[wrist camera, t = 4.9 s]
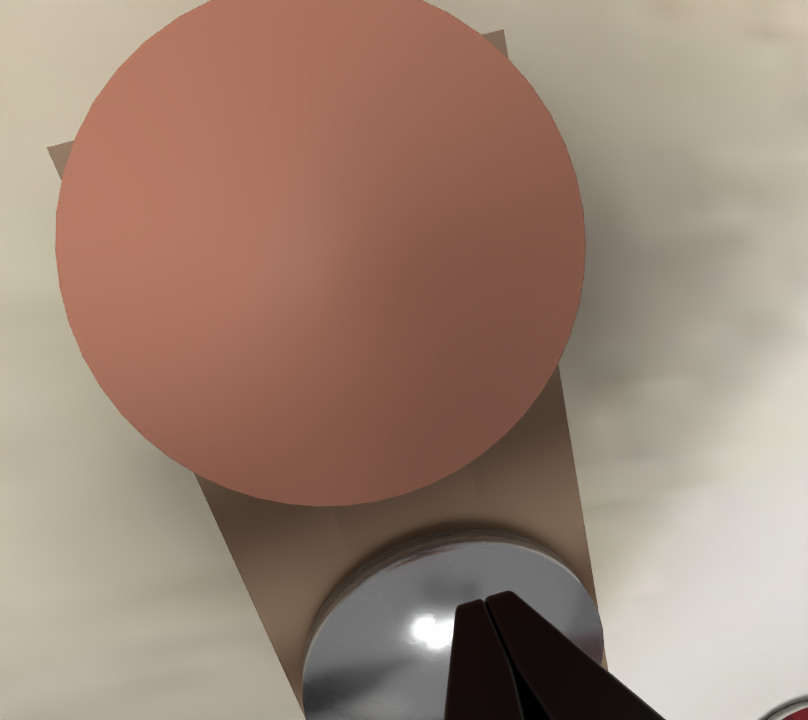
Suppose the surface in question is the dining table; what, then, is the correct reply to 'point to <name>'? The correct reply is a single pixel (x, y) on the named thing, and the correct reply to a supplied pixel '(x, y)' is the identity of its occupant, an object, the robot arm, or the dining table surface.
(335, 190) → the rust plunger
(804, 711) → the soda can
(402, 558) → the silver round dome
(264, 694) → the dining table surface
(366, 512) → the housing
